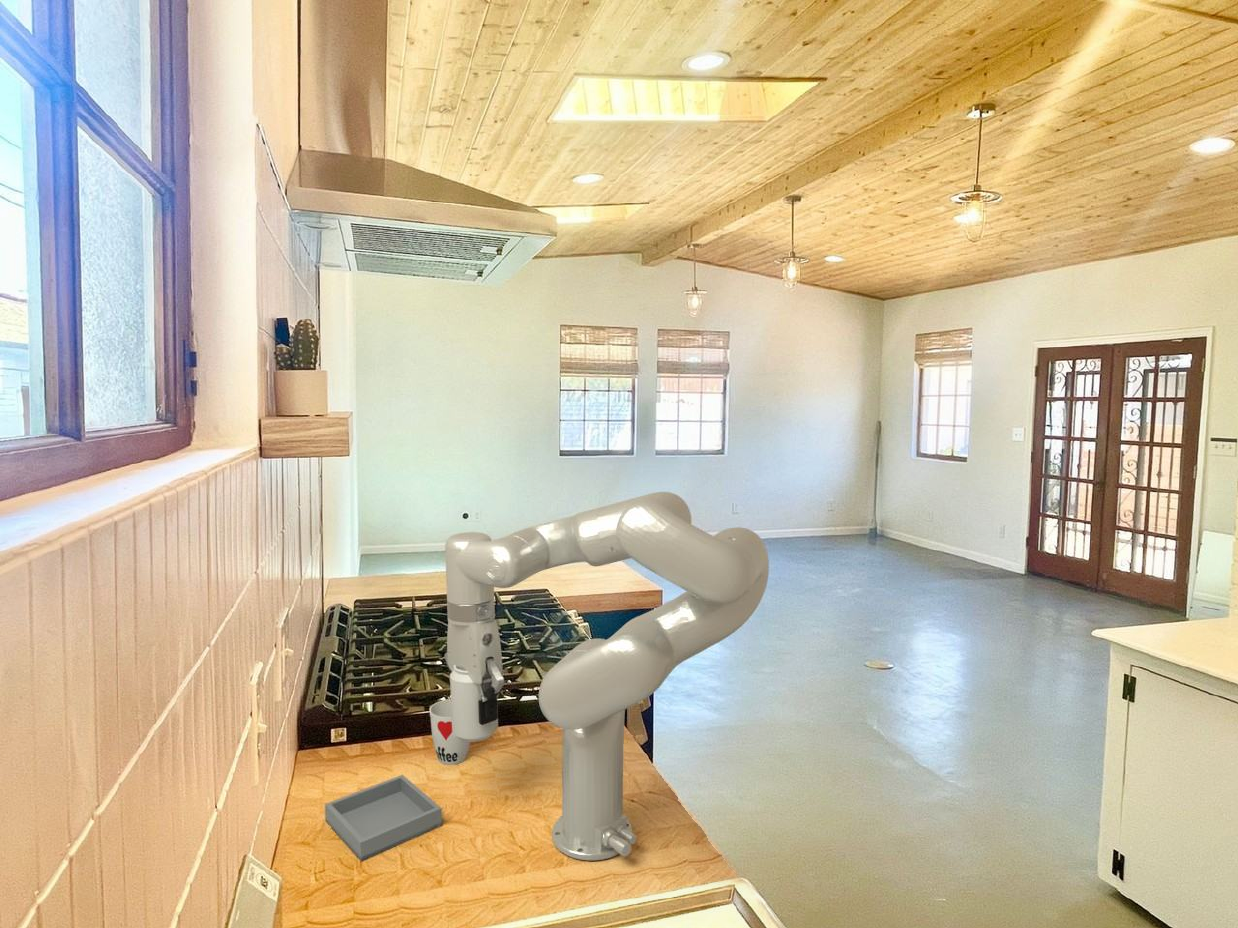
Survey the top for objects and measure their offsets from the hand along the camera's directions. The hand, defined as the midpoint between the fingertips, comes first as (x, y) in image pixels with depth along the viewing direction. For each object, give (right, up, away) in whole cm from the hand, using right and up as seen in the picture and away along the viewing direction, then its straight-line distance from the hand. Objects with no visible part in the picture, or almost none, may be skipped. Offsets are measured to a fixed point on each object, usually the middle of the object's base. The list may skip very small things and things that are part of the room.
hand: (474, 712), depth 124 cm
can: (0, -4, 0) cm, 4 cm away
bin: (-14, -17, -2) cm, 22 cm away
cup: (-8, -15, +19) cm, 25 cm away
